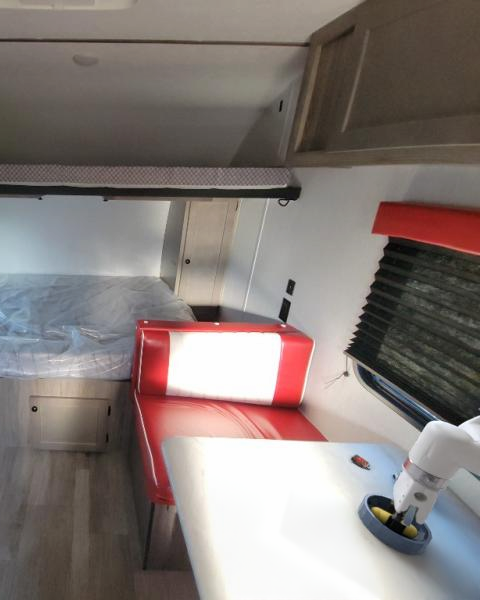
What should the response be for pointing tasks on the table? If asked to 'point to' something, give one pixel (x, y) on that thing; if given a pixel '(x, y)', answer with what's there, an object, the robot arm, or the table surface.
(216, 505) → the table surface
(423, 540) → the bowl
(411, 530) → the yellow rounded cylinder
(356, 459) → the matchbox
